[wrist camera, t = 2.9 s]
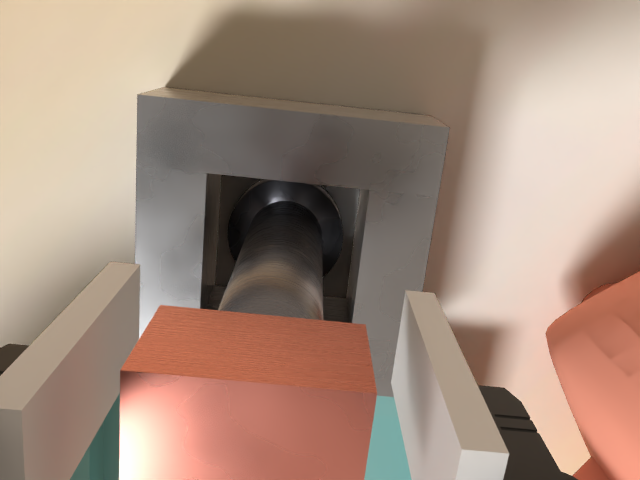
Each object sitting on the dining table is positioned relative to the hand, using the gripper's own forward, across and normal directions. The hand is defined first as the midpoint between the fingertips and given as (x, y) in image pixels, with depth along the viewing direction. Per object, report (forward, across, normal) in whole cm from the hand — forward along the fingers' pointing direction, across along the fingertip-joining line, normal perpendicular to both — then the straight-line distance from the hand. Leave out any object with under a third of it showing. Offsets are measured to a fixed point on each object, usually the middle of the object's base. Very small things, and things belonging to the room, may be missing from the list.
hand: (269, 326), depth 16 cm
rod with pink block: (+9, 0, 0) cm, 9 cm away
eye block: (+9, 0, 0) cm, 9 cm away
